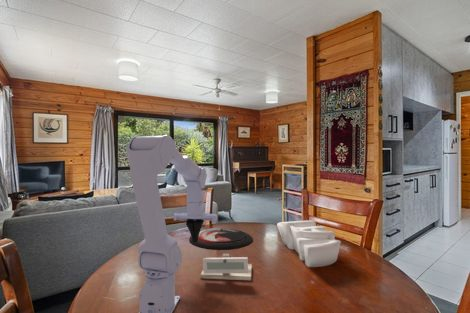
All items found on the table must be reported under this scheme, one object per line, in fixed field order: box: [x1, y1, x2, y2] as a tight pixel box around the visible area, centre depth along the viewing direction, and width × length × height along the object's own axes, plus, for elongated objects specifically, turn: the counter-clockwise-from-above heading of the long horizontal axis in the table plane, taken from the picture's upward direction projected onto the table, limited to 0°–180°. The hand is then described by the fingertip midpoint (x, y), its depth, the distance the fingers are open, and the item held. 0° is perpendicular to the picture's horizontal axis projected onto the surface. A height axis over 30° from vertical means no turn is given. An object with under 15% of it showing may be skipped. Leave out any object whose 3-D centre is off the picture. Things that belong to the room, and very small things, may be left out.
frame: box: [202, 256, 249, 274], centre depth 75 cm, size 2×14×4 cm, turn 85°
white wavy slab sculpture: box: [276, 219, 342, 268], centre depth 97 cm, size 35×16×11 cm, turn 6°
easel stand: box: [200, 253, 253, 281], centre depth 80 cm, size 9×16×7 cm, turn 85°
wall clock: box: [188, 227, 254, 251], centre depth 113 cm, size 27×5×30 cm
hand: (195, 241), depth 82 cm, fingers closed
